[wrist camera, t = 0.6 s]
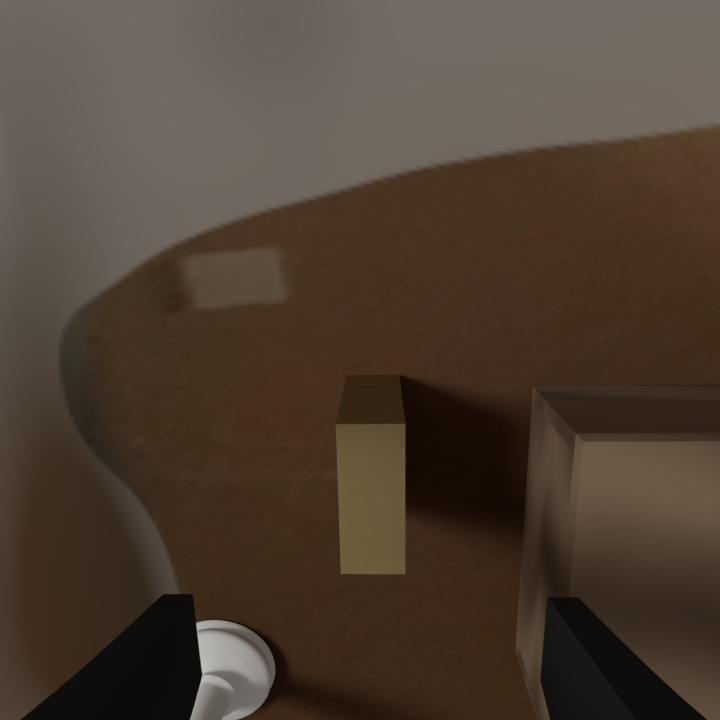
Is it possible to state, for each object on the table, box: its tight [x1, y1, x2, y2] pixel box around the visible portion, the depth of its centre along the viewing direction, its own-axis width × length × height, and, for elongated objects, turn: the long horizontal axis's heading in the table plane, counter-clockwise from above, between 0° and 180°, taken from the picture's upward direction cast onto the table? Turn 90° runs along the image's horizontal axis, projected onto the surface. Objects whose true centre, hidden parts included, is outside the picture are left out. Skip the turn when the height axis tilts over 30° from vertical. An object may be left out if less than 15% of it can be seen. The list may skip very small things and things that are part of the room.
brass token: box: [336, 375, 405, 574], centre depth 18 cm, size 5×2×5 cm, turn 1°
